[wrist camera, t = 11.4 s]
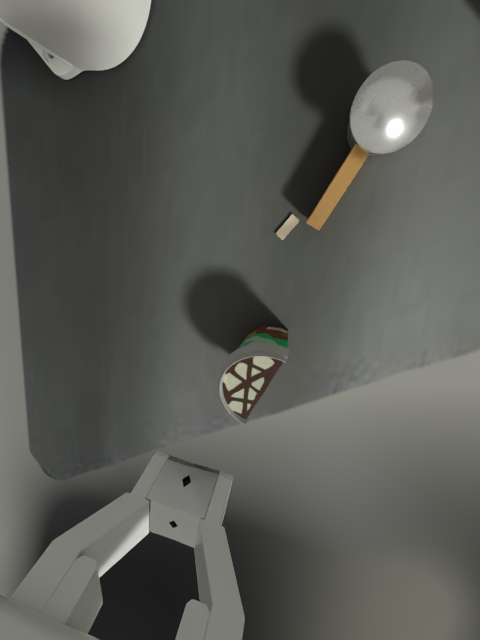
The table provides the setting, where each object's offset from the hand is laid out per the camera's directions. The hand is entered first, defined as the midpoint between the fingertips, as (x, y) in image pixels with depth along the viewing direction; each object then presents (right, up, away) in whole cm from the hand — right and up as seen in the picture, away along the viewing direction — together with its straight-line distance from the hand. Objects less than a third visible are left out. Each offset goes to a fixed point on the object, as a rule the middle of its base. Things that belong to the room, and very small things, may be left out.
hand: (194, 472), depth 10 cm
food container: (+4, +2, +31) cm, 31 cm away
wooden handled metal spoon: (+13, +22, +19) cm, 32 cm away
